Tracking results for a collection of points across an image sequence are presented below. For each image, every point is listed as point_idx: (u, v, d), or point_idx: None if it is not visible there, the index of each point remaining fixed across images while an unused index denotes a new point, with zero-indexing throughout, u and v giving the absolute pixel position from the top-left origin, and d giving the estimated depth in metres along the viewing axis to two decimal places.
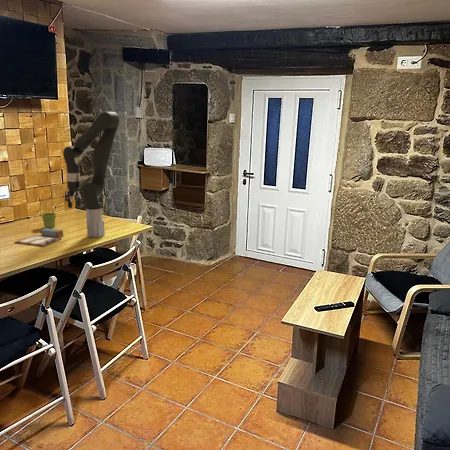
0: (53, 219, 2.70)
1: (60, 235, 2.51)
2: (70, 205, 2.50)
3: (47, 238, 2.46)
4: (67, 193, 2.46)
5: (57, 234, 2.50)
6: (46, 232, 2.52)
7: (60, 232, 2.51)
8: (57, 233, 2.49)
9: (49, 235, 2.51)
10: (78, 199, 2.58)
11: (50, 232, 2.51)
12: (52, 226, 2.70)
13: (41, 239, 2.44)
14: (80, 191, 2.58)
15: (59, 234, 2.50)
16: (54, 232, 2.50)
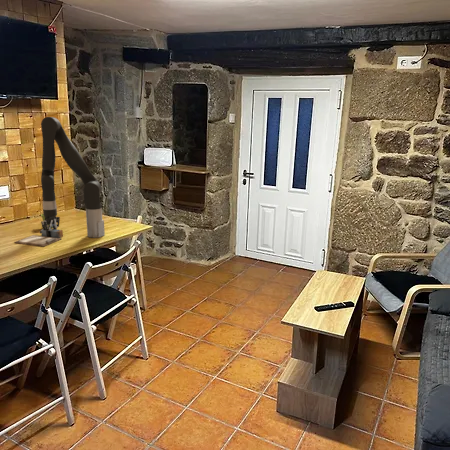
0: None
1: (60, 235, 2.51)
2: (48, 234, 2.49)
3: (47, 238, 2.46)
4: (43, 223, 2.44)
5: (57, 234, 2.49)
6: None
7: (60, 232, 2.51)
8: (57, 233, 2.49)
9: None
10: (54, 228, 2.54)
11: (50, 232, 2.50)
12: None
13: (41, 239, 2.44)
14: (57, 220, 2.55)
15: (59, 234, 2.50)
16: (54, 232, 2.50)
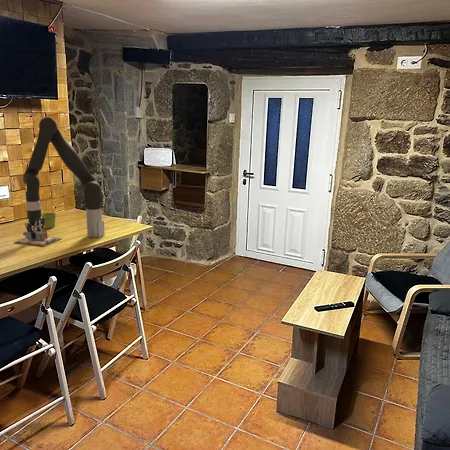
0: (53, 219, 2.70)
1: (44, 237, 2.41)
2: (33, 236, 2.40)
3: None
4: (27, 225, 2.35)
5: (41, 236, 2.39)
6: (30, 234, 2.42)
7: (44, 234, 2.41)
8: (41, 235, 2.39)
9: None
10: (38, 230, 2.44)
11: None
12: (52, 226, 2.70)
13: None
14: (42, 221, 2.46)
15: (43, 236, 2.40)
16: (38, 234, 2.40)
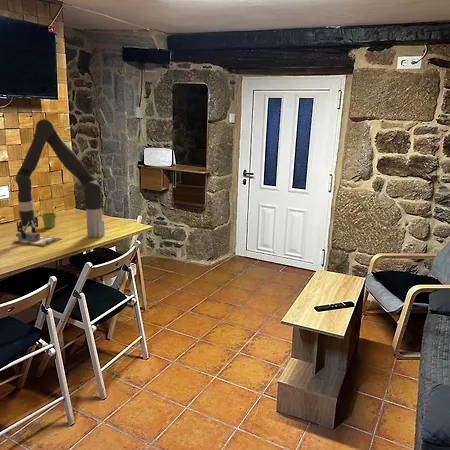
0: (53, 219, 2.70)
1: (37, 239, 2.40)
2: (24, 236, 2.37)
3: (47, 238, 2.46)
4: (19, 224, 2.33)
5: (33, 238, 2.39)
6: None
7: (37, 235, 2.40)
8: (33, 237, 2.39)
9: (25, 239, 2.41)
10: (33, 229, 2.45)
11: (26, 235, 2.40)
12: (52, 226, 2.70)
13: (41, 239, 2.44)
14: (35, 220, 2.45)
15: (36, 238, 2.39)
16: (30, 235, 2.39)
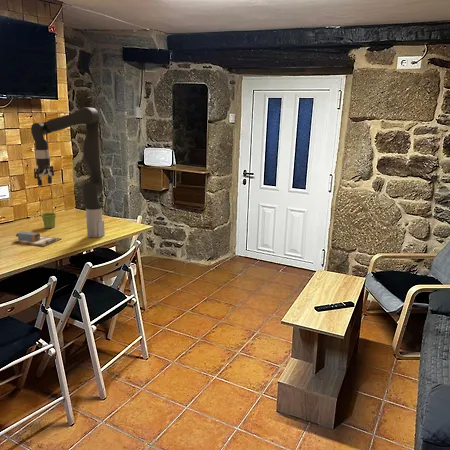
0: (53, 219, 2.70)
1: (37, 239, 2.40)
2: (40, 183, 2.48)
3: (47, 238, 2.46)
4: (36, 170, 2.44)
5: (33, 238, 2.39)
6: (23, 236, 2.41)
7: (37, 235, 2.40)
8: (33, 237, 2.39)
9: (25, 239, 2.41)
10: (49, 177, 2.56)
11: (26, 235, 2.40)
12: (52, 226, 2.70)
13: (41, 239, 2.44)
14: (51, 169, 2.56)
15: (36, 238, 2.39)
16: (30, 235, 2.39)
